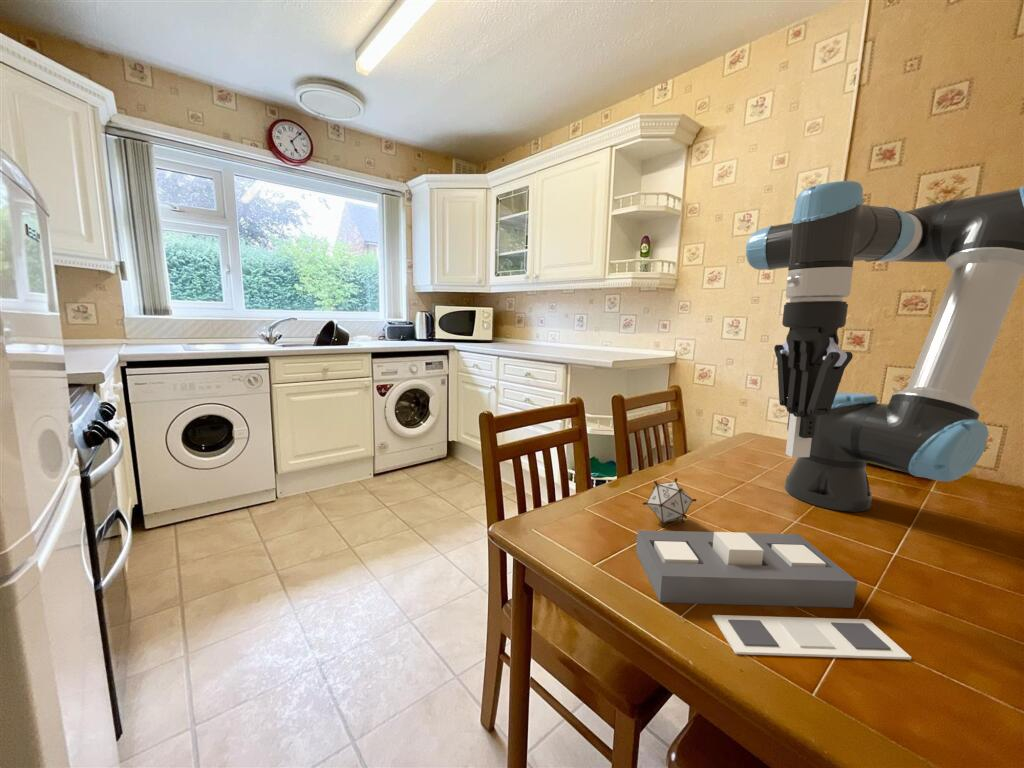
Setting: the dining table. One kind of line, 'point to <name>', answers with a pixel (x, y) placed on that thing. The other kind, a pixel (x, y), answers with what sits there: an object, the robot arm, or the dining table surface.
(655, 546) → the button far
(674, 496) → the game die
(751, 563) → the middle button
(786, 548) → the button near arm
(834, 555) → the dining table surface
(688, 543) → the button board
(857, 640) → the pattern card
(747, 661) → the dining table surface
